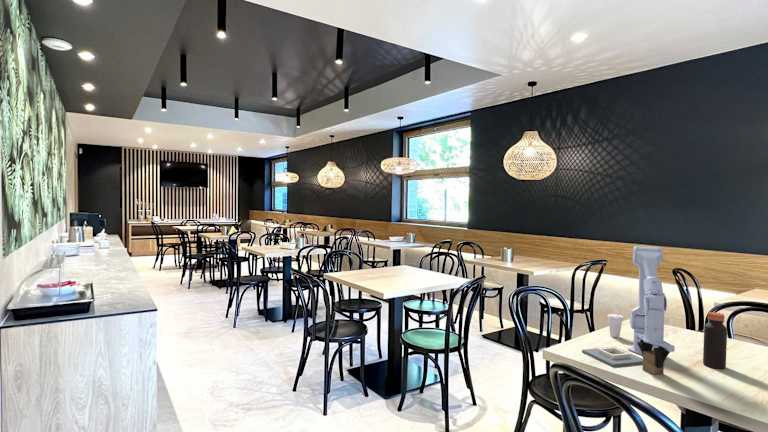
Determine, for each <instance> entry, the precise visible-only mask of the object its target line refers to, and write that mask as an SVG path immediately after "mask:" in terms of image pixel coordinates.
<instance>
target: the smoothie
mask: <svg viewBox="0 0 768 432" xmlns="http://www.w3.org/2000/svg"><path fill="white" fill-rule="evenodd" d="M618 308H619V306H616V307H615V313H610V314H607V318H608V326H609V336H610V337H611V338H614V337H615V338H616V339H619V338H620V336H621V331H622V330H621V329H622V325H623V320H624V316H623V315H621V314H618V313H619V309H618Z"/></svg>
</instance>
